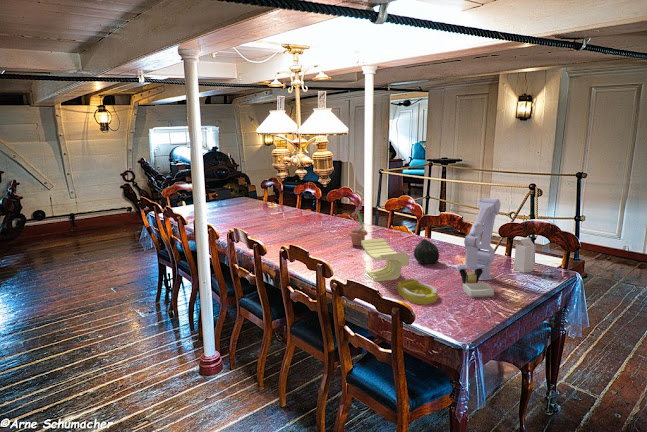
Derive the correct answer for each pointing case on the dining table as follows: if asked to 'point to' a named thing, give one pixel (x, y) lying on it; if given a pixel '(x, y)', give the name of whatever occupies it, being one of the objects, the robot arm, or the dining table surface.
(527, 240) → the milk carton
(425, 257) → the squash
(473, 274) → the tea tin
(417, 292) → the ashtray
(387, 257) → the slatted curved stool
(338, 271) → the dining table surface
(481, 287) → the tote
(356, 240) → the decorative flower
